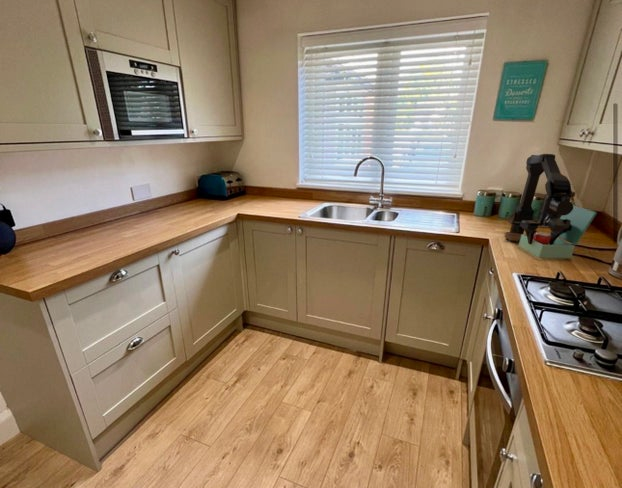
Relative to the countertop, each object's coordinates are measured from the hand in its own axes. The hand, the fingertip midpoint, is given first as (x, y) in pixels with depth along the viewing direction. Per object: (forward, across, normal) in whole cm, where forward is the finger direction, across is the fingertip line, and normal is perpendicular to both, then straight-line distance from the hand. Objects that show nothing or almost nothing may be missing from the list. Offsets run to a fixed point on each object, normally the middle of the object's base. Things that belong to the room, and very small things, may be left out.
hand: (540, 244), depth 144 cm
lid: (-10, +11, 0) cm, 14 cm away
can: (+3, 0, 0) cm, 3 cm away
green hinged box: (+4, +2, 0) cm, 5 cm away
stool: (+4, -2, +14) cm, 15 cm away
